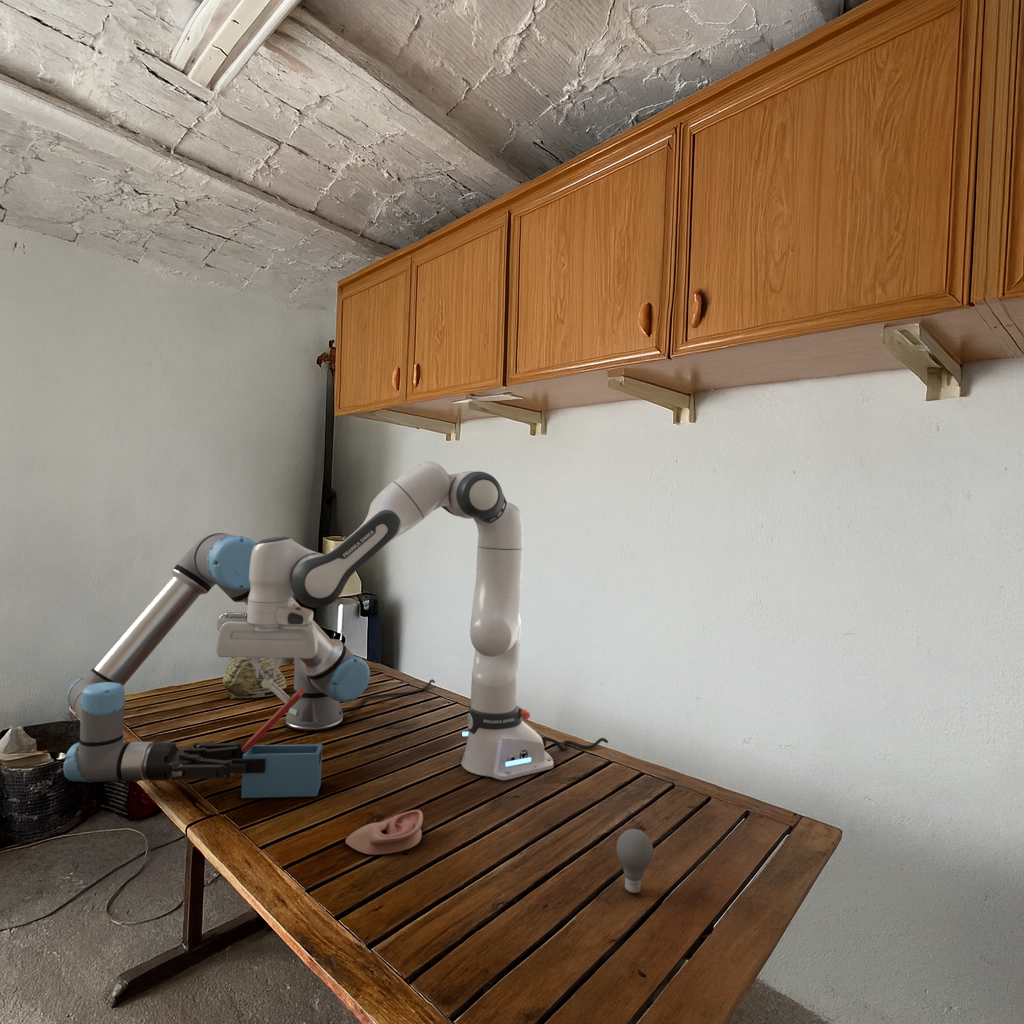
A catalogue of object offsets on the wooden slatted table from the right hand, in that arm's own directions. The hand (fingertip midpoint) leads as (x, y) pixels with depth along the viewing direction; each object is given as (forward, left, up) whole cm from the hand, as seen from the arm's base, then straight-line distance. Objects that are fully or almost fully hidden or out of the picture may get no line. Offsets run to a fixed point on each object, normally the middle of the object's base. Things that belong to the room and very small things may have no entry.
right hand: (266, 678), depth 134 cm
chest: (-4, +1, -24) cm, 25 cm away
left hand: (-1, 0, -18) cm, 18 cm away
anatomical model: (-21, +27, -24) cm, 42 cm away
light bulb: (-57, +55, -24) cm, 83 cm away
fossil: (+1, -69, -24) cm, 73 cm away
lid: (-2, +1, -9) cm, 10 cm away
